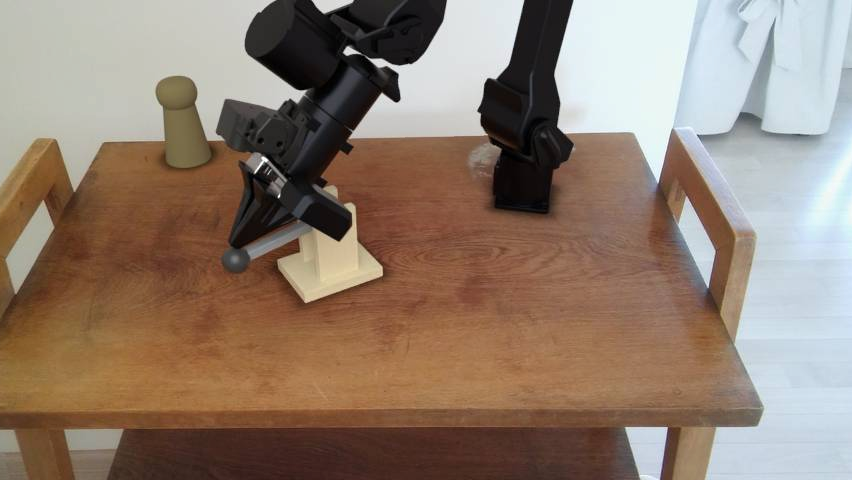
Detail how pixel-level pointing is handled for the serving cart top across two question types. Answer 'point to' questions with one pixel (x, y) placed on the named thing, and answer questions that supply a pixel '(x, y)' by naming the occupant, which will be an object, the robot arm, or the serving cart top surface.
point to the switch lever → (261, 248)
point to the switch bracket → (329, 262)
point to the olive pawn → (182, 123)
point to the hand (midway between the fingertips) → (232, 246)
